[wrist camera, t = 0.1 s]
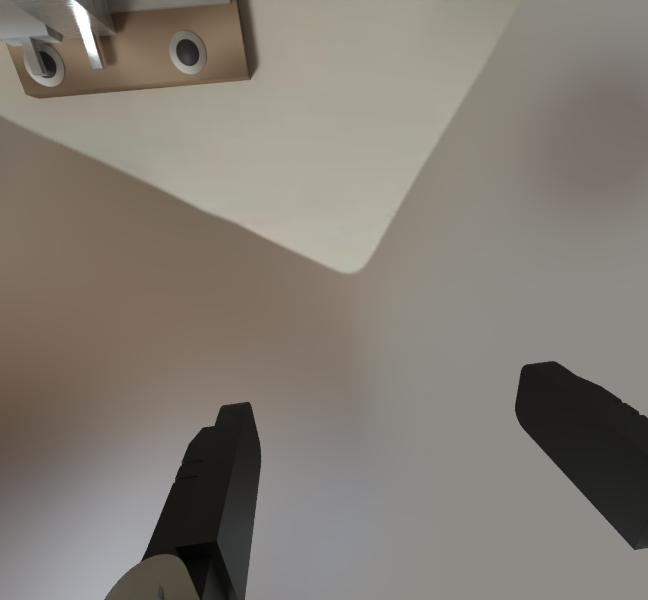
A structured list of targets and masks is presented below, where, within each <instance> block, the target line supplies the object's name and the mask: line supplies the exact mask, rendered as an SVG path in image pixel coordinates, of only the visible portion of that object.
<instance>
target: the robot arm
mask: <svg viewBox="0 0 648 600" xmlns="http://www.w3.org/2000/svg"><path fill="white" fill-rule="evenodd" d="M515 412H516V416H517V419H518V421H519V423H520V425H521V426H522V428H523V429H524V430H525V431H526V432H527V433H528V434H529V435H530V437H531V438H532V439H533V440H534V441H535V442H536V443H537V444H538V445H539V446H540V447H541V449H542V450H543V451H544V452H545V453H546V454H547V455H548V456H549V457H550V458H551V459H552V461H553V462H554V463H555V464H556V465H557V466H558V467H559V468H560V469H561V470H562V471H563V473H564V474H565V475H566V476H567V477H568V478H569V479H570V480H571V481H572V482H573V483H574V485H576V487H577V488H578V489H579V490H580V491H581V492H582V493H583V494H584V495H585V497H586V498H587V499H588V500H589V501H590V502H591V503H592V504H593V505H594V506H595V508H596V509H597V510H598V511H599V512H600V513H601V514H602V515H603V516H604V517H605V518H606V520H607V521H608V522H609V523H610V524H611V525H612V526H613V527H614V528H615V529H616V530H617V532H618V533H619V534H620V535H621V536H622V537H623V538H624V539H625V540H626V541H627V542H628V543H629V545H630V546H631V547H632V548H633V549H634V550H637V549H643V548H648V418H647V417H646V416H644V415H639V412H638V411H637V410H635V409H634V408H632V407H631V406H629V405H628V404H626V403H622V401H621V399H619V398H617V397H616V396H615V395H613V394H612V393H610V392H609V391H607V390H605V389H604V388H603V387H601V386H599V385H597V384H594V383H592V382H590V381H588V380H585V379H583V378H581V377H578V376H576V375H575V374H573V373H572V372H570V371H569V370H568V369H566V368H565V367H563V366H562V365H560V364H559V363H557V362H554V361H549V362H542V363H534V364H527V365H525V366H523V368H522V370H521V374H520V380H519V386H518V392H517V398H516V404H515ZM260 468H261V449H260V441H259V437H258V432H257V428H256V424H255V420H254V415H253V411H252V407H251V404H250V403H249V402H244V403H237V404H230V405H223V406H222V407H221V408H220V411H219V414H218V417H217V420H216V423H215V426H211V427H204V428H202V429H201V431H200V432H199V433H198V434H197V435H196V436H195V438H194V439H193V440H192V441H191V442H190V444H189V445H188V448H187V450H186V453H185V455H184V458H183V460H182V466H180V468H179V470H178V473H177V475H176V478H175V483H173V485H172V488H171V490H170V493H169V495H168V498H167V500H166V503H165V505H164V508H163V510H162V513H161V515H160V518H159V520H158V523H157V525H156V528H155V530H154V532H153V535H152V538H151V540H150V543H149V545H148V548H147V550H146V552H145V554H144V556H143V558H142V560H141V562H140V563H139V564H137V565H136V566H134V567H133V568H131V569H130V570H129V571H128V572H127V573H126V574H125V575H124V576H123V577H122V578H121V579H120V580H119V581H118V582H117V583H116V584H115V586H114V587H113V588H112V589H111V591H110V592H109V593H108V595H107V596H106V598H105V599H104V600H245V593H246V584H247V575H248V567H249V559H250V551H251V543H252V535H253V526H254V518H255V510H256V501H257V493H258V484H259V476H260Z"/></svg>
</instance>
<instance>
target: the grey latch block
mask: <svg viewBox="0 0 648 600" xmlns="http://www.w3.org/2000/svg"><path fill="white" fill-rule="evenodd" d="M7 1H9V2H11V3H12V4H14V5H15V6H17V7H19V8H20V9H22V10H23V11H25V12H27V13H28V14H30V15H31V16H33V17H35V18H36V19H38V20H39V21H41V22H43V23H44V24H46V25H47V26H49V27H51V28H52V29H54V30H55V31H57V32H59V33H60V34H62V35H63V36H65V37H67V38H68V39H72V38H83V40H84V43H85V46H86V50H87V53H88V56H89V59H90V62H91V65H92V69H94V70H96V71H105V70H106V68H105V65H104V62H103V58H102V55H101V52H100V48H99V45H98V42H97V38H96V37H97V36H109V35H117V34H116V31H115V27H114V23H113V20H112V16H111V13H110V9H109V6H108V2H107V0H7Z"/></svg>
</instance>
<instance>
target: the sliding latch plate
mask: <svg viewBox="0 0 648 600" xmlns="http://www.w3.org/2000/svg"><path fill="white" fill-rule="evenodd" d="M107 2H108V6H109V9H110V13H111V16H112V20H113V23H114V27H115V31H116V34H117V35H109V36H97V37H96V38H97V42H98V45H99V48H100V52H101V55H102V58H103V62H104V65H105V68H106V70H105V71H96V70H94V69H92V65H91V62H90V59H89V56H88V53H87V50H86V46H85V43H84V40H83V38H72V39H68V38H67V37H65V36H63V35H62V34H60V33H59V32H57V31H55V30H54V29H52V28H51V27H49V26H47V25H46V24H44V23H43V22H41V21H39V20H38V19H36V18H35V17H33V16H31V15H30V14H28V13H27V12H25V11H23V10H22V9H20V8H19V7H17V6H15V5H14V4H12V3H11V2H9V1H7V0H0V40H1V41H3V42H5V43H6V45H7V47H8V50H9V52H10V55H11V57H12V60H13V63H14V65H15V68H16V70H17V73H18V75H19V78H20V81H21V83H22V86H23V88H24V91H25V93H26V95H29V96H32V97H35V98H39V99H40V98H51V97H62V96H73V95H85V94H96V93H107V92H118V91H129V90H141V89H152V88H163V87H174V86H186V85H197V84H208V83H219V82H231V81H242V80H250V75H249V69H248V63H247V56H246V50H245V43H244V37H243V31H242V24H241V18H240V11H239V5H238V0H107Z"/></svg>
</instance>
